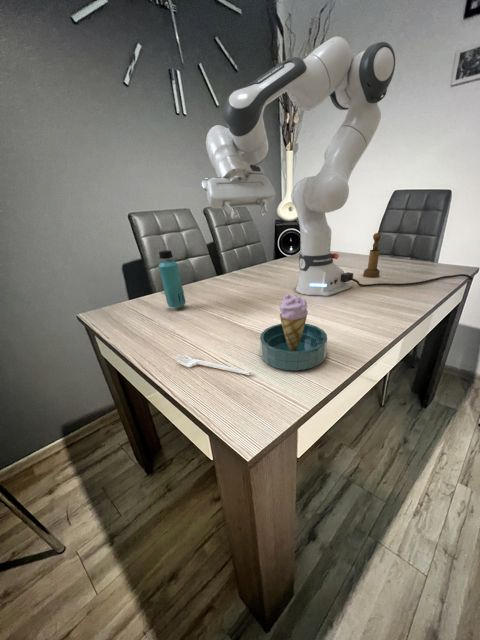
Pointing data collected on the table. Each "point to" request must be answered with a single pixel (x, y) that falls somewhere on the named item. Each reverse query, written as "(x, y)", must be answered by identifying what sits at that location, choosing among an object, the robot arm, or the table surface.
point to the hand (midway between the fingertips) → (250, 215)
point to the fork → (206, 364)
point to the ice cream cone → (293, 319)
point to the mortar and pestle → (373, 259)
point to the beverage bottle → (171, 280)
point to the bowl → (305, 356)
